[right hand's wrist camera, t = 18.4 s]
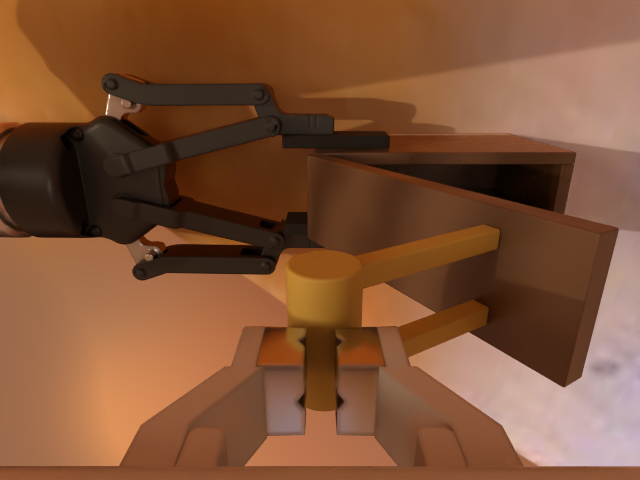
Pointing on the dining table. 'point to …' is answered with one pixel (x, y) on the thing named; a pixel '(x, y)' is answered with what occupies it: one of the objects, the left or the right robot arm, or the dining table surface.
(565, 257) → the lid
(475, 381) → the dining table surface
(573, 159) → the chest
